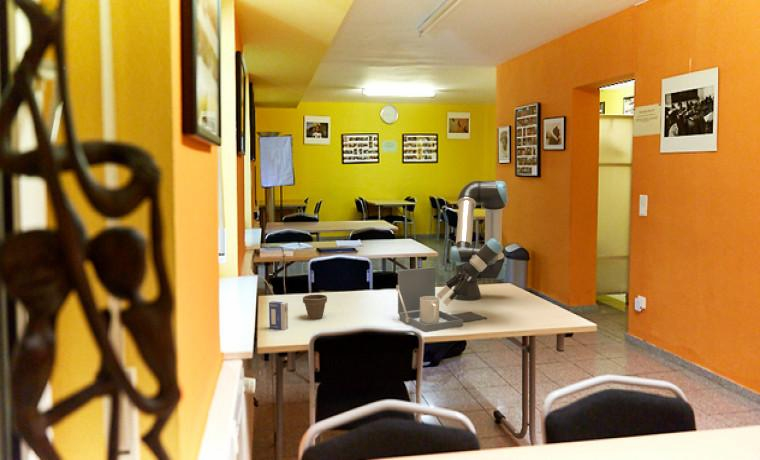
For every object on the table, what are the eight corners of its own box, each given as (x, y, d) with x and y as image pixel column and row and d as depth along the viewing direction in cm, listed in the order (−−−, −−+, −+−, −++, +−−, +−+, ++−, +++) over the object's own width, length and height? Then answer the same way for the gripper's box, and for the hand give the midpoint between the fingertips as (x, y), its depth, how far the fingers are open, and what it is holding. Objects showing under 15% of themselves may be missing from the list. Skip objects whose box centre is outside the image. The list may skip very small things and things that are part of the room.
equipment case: (396, 319, 274) (396, 270, 271) (433, 314, 283) (433, 267, 281) (423, 332, 253) (423, 279, 250) (462, 326, 262) (463, 275, 260)
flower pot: (298, 317, 279) (298, 296, 278) (319, 313, 286) (318, 292, 285) (311, 322, 270) (310, 300, 269) (331, 318, 277) (331, 297, 276)
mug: (417, 320, 272) (417, 296, 271) (435, 319, 275) (435, 295, 273) (425, 327, 261) (425, 302, 260) (444, 325, 263) (444, 301, 262)
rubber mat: (444, 316, 279) (444, 315, 279) (470, 312, 286) (470, 311, 286) (460, 323, 267) (460, 321, 267) (487, 318, 274) (487, 317, 274)
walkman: (269, 328, 259) (268, 301, 258) (272, 326, 262) (272, 300, 261) (285, 330, 257) (284, 303, 255) (288, 328, 259) (287, 301, 258)
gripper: (461, 257, 279) (430, 289, 279) (476, 265, 254) (441, 300, 254) (472, 268, 280) (441, 300, 280) (488, 277, 255) (453, 312, 255)
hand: (441, 300), depth 267 cm, fingers open, 13 cm apart
